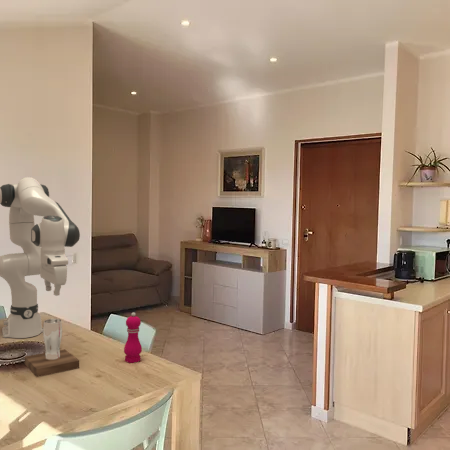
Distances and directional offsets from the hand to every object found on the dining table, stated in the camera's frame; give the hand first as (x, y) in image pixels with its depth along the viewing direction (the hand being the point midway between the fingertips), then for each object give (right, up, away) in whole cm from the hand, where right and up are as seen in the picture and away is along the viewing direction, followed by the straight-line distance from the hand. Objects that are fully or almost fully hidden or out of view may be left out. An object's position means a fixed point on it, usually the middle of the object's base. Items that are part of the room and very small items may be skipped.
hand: (52, 292), depth 182 cm
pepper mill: (+29, -29, +10) cm, 43 cm away
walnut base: (-1, -29, +1) cm, 29 cm away
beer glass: (-1, -26, +2) cm, 26 cm away
